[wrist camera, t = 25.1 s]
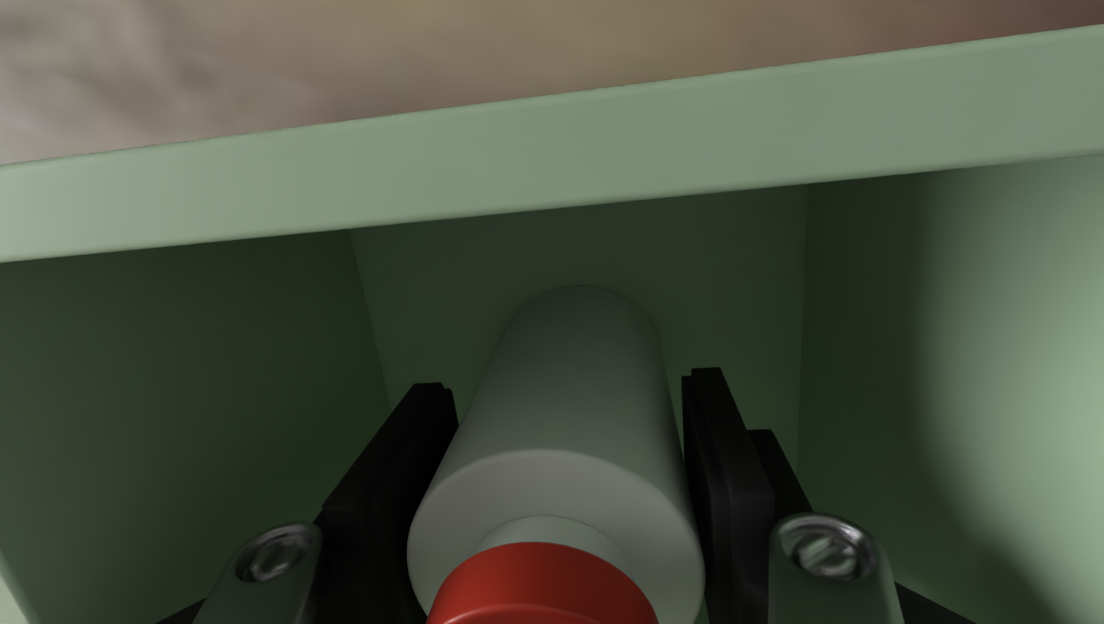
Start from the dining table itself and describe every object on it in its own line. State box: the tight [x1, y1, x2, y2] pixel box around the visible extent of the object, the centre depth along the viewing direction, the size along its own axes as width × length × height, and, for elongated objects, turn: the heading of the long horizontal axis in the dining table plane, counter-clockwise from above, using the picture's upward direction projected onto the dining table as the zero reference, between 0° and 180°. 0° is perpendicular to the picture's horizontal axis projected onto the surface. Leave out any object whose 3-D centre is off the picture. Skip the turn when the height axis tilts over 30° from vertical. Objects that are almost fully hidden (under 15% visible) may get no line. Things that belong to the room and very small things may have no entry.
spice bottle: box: [407, 286, 706, 624], centre depth 11 cm, size 4×4×9 cm
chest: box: [0, 24, 1104, 624], centre depth 11 cm, size 15×13×10 cm
